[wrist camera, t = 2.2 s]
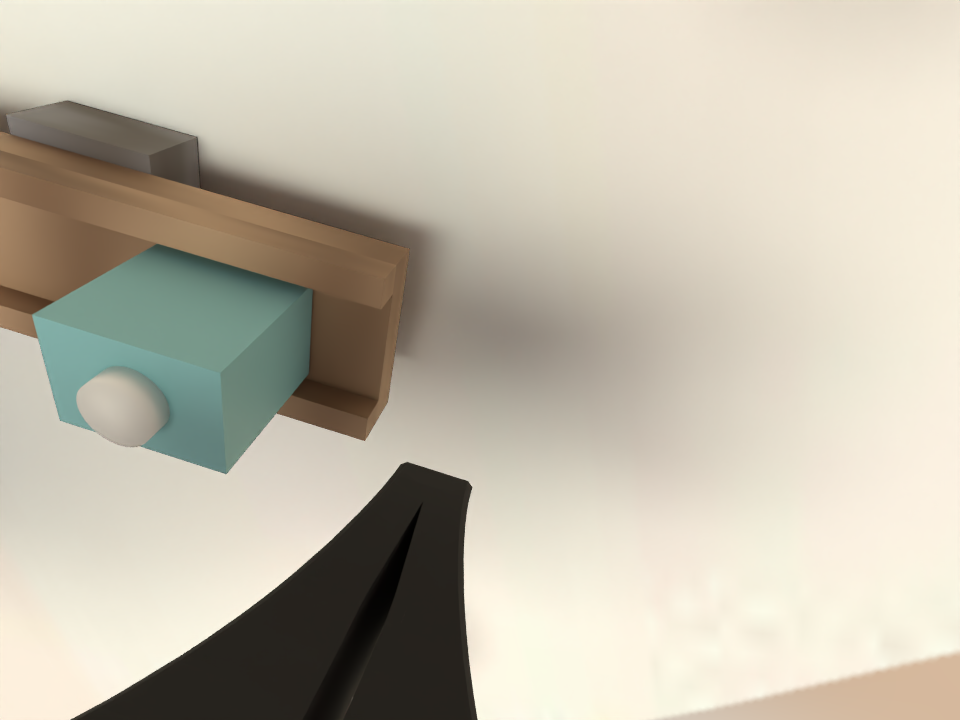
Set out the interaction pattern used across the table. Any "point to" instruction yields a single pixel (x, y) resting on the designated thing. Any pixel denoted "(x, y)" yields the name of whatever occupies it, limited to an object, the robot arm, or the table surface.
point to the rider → (177, 354)
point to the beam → (189, 245)
